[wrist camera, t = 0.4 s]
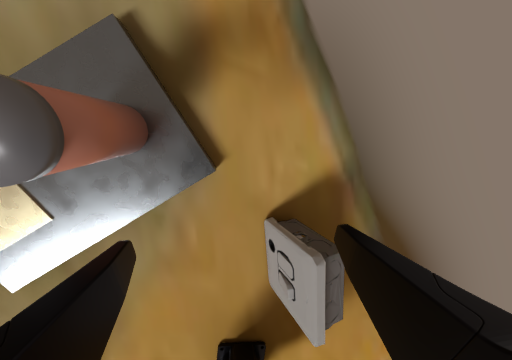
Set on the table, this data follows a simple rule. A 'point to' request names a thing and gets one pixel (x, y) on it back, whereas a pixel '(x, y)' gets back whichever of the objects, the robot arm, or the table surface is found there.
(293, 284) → the electrical switch
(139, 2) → the table surface
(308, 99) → the table surface
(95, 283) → the robot arm
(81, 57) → the breaker panel
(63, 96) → the post
